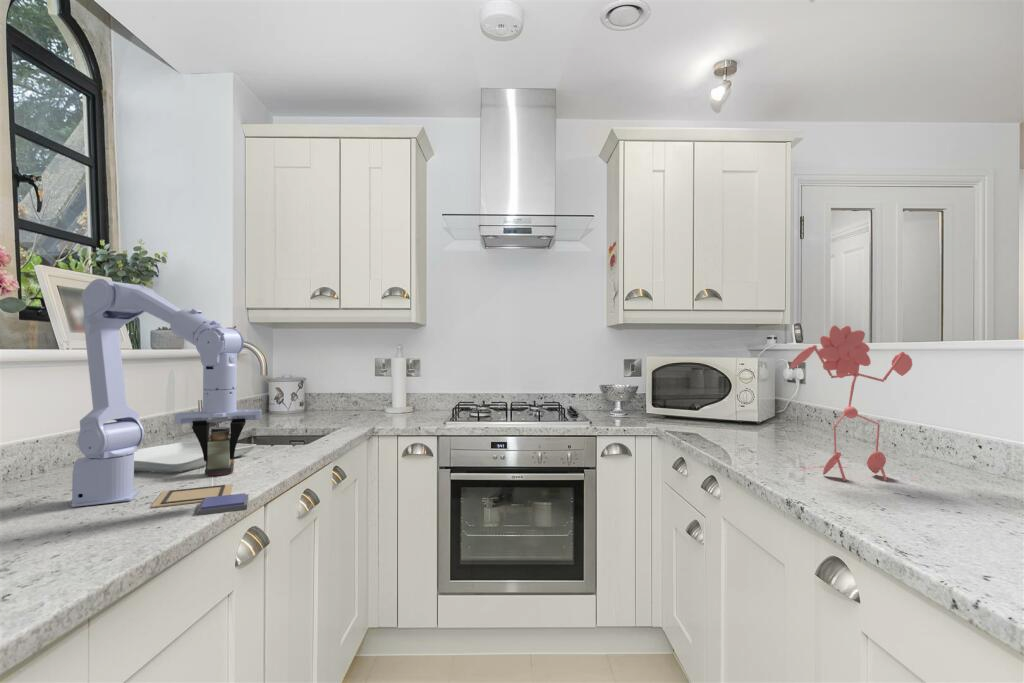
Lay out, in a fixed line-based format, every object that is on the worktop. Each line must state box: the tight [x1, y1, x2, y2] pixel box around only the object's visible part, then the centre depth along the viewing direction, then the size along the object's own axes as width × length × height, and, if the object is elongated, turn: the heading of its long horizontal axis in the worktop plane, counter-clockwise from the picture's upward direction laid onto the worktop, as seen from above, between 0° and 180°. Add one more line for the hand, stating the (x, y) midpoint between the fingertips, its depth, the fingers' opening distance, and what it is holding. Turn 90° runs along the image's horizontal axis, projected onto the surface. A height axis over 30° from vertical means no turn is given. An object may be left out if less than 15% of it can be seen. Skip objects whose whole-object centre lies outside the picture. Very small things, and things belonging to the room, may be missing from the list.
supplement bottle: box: [205, 426, 235, 477], centre depth 125 cm, size 6×6×11 cm
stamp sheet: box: [150, 483, 234, 509], centre depth 105 cm, size 13×12×1 cm
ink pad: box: [196, 492, 249, 516], centre depth 98 cm, size 8×8×1 cm
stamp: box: [204, 431, 234, 476], centre depth 99 cm, size 4×4×7 cm
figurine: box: [788, 325, 916, 482], centre depth 121 cm, size 15×26×35 cm, turn 90°
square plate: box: [134, 441, 257, 473], centre depth 138 cm, size 27×27×4 cm
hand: (219, 459), depth 99 cm, fingers closed on stamp, 4 cm apart
